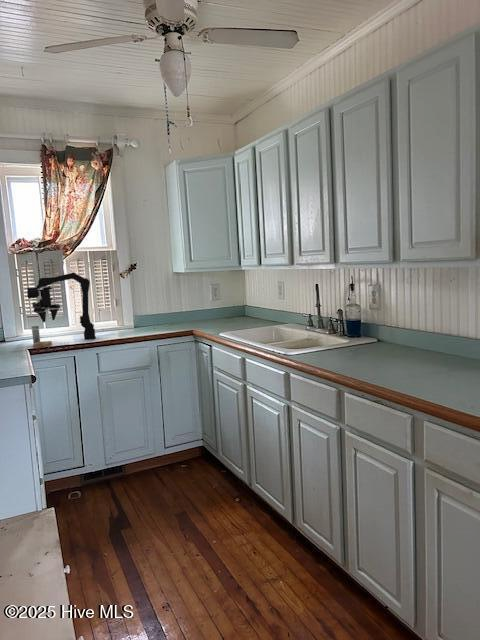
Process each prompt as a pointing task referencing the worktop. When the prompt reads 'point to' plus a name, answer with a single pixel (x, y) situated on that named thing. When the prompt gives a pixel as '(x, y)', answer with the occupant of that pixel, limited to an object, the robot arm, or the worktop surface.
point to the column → (35, 334)
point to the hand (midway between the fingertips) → (48, 321)
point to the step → (42, 344)
